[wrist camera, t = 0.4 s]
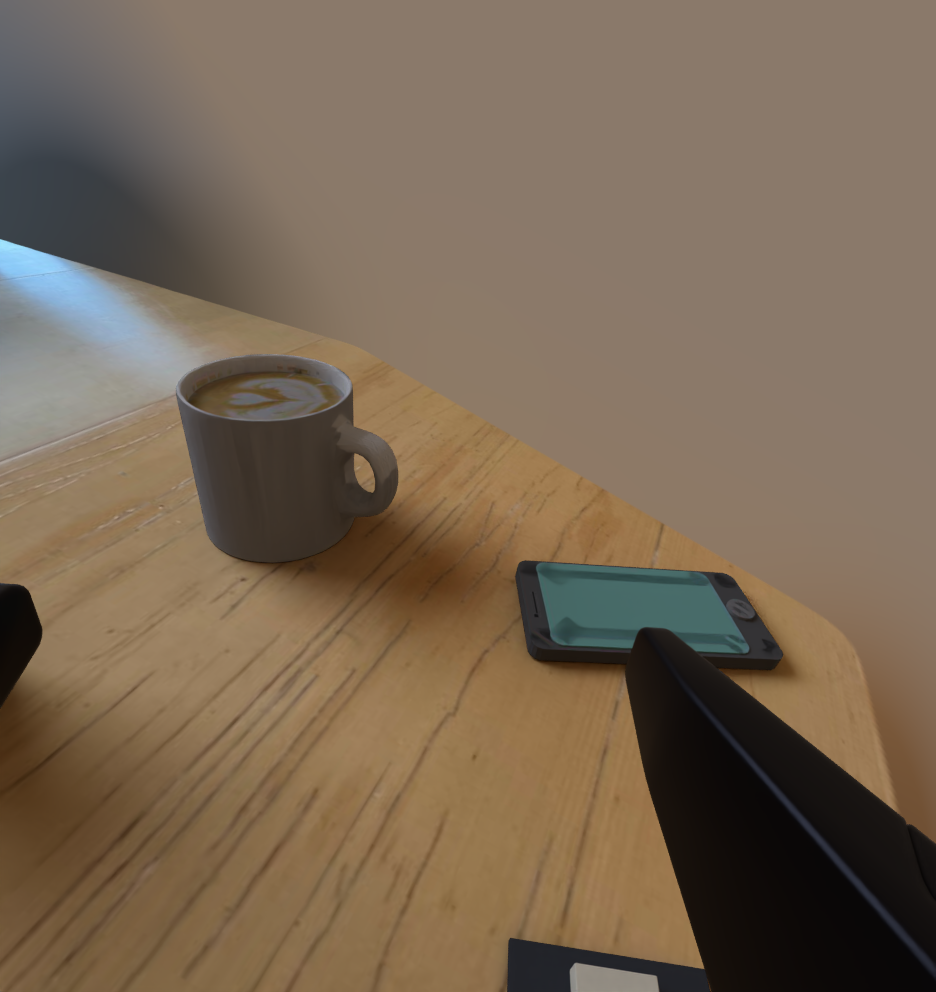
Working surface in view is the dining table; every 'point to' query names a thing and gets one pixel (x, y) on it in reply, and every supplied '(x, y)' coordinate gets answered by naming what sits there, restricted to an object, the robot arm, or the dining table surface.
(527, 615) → the smartphone
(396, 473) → the coffee mug
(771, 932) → the robot arm
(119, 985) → the dining table surface
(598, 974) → the three button keypad
